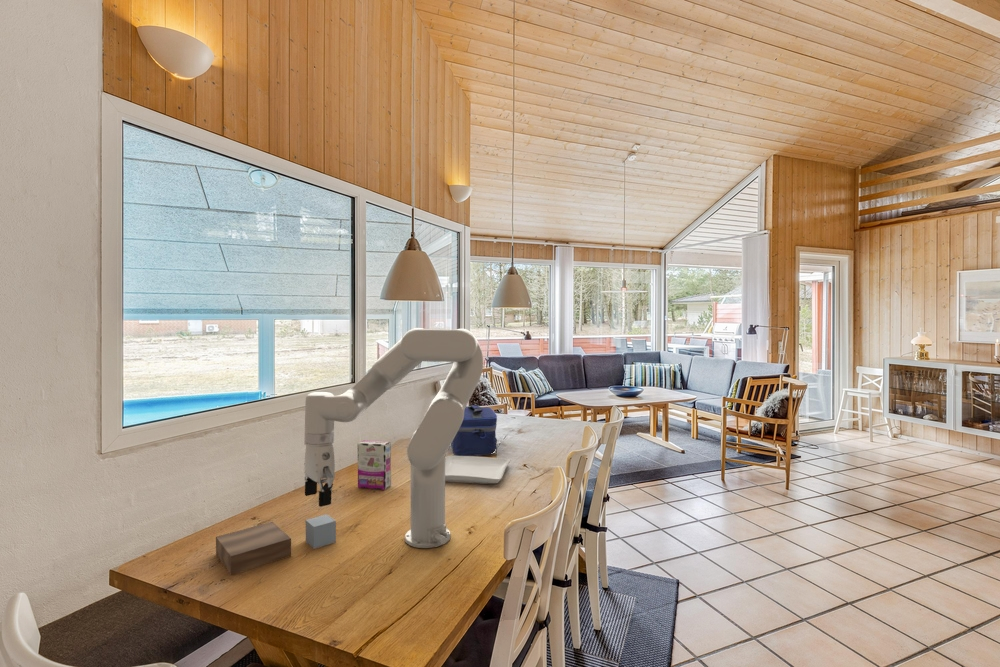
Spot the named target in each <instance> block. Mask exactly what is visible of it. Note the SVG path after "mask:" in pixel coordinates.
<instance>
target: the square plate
mask: <svg viewBox="0 0 1000 667" xmlns="http://www.w3.org/2000/svg"><path fill="white" fill-rule="evenodd" d="M510 462H511V459H510V458H501V457H500V458H499V457H487V456H476V455H469V456H458V455H447V456H445V482H449V483H466V484H467V483H468V484H481V485H482V484H485V485H488V484H498V483H499V482H500V481H501V480H502V478H503V477H504V474H505V471H506V470H507V467H508V465H509V464H510Z"/></svg>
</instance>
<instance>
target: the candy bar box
mask: <svg viewBox="0 0 1000 667" xmlns="http://www.w3.org/2000/svg"><path fill="white" fill-rule="evenodd" d="M391 486H392V442H391V441H382V440H380V441H379V440H378V441H377V440H361V441H360V442H358V443H357V488H358V489H359V488H361V489H369V490H380V491H385V490H387V489H389V488H390V487H391Z"/></svg>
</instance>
